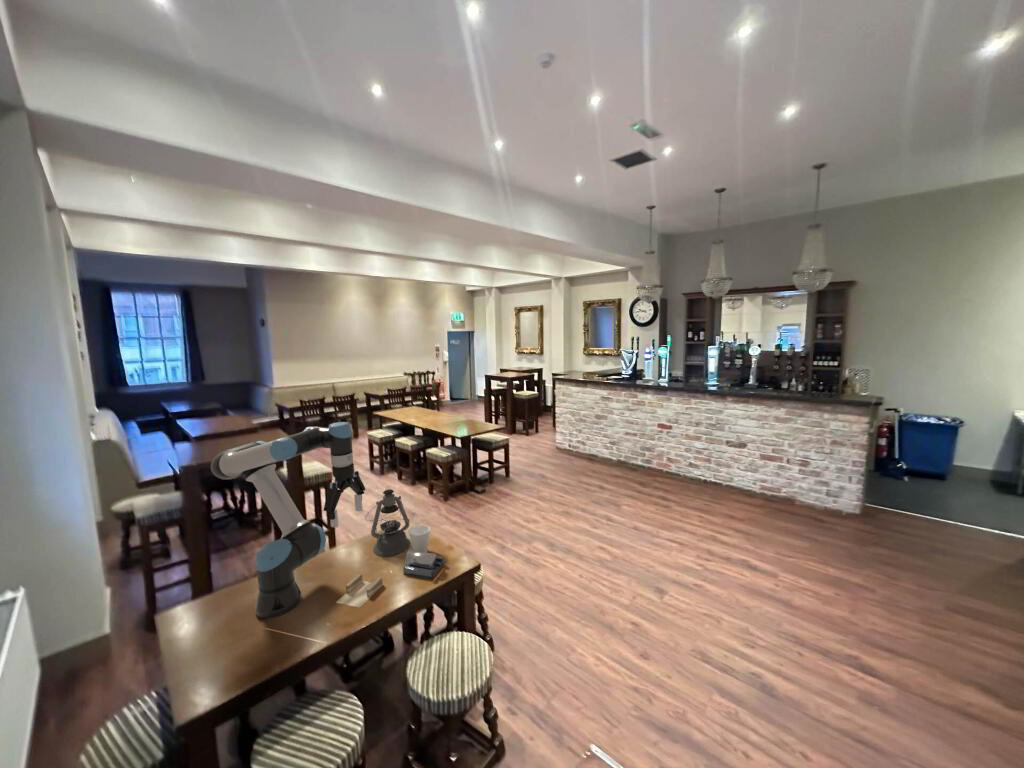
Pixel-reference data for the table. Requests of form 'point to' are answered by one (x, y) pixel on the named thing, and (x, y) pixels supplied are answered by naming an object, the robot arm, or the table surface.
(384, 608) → the table surface
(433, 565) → the grey metal cylinder
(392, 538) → the lantern
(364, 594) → the bracket
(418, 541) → the cup
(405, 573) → the v block
